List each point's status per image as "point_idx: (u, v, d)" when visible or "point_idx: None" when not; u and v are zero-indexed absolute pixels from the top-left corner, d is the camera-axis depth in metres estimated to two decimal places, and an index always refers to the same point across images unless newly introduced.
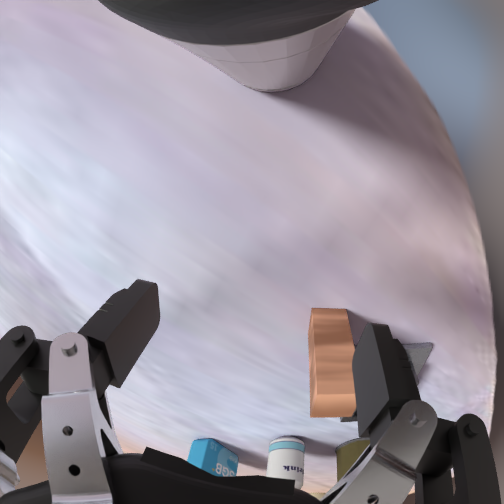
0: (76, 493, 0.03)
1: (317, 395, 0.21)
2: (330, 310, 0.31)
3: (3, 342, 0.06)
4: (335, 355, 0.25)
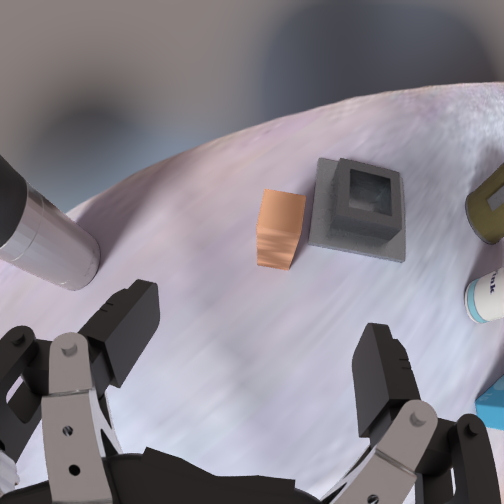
0: (76, 493, 0.03)
1: (258, 226, 0.26)
2: None
3: (3, 342, 0.06)
4: None
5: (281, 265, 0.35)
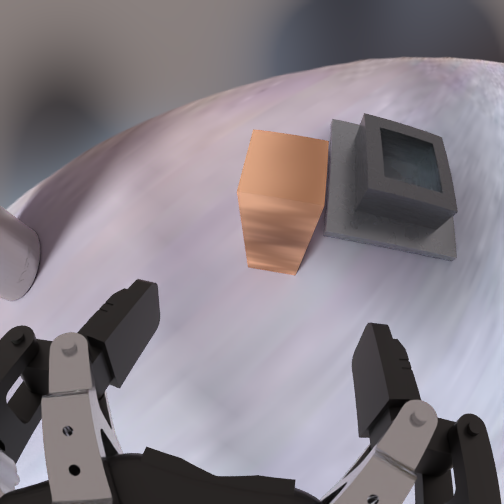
0: (76, 493, 0.03)
1: (241, 191, 0.13)
2: None
3: (3, 342, 0.06)
4: None
5: (284, 267, 0.22)
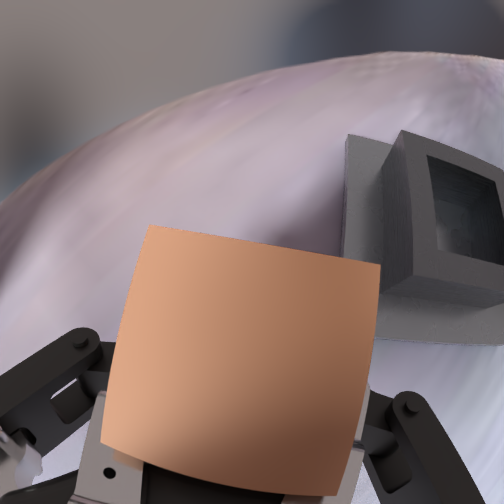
0: (102, 495, 0.03)
1: (111, 443, 0.04)
2: None
3: (63, 340, 0.07)
4: None
5: None
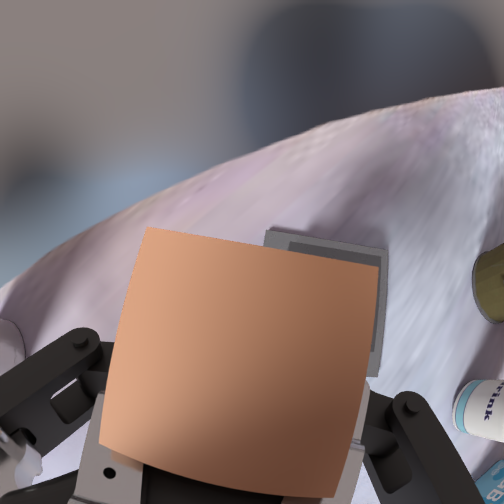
0: (102, 495, 0.03)
1: (109, 444, 0.04)
2: None
3: (63, 340, 0.07)
4: None
5: None
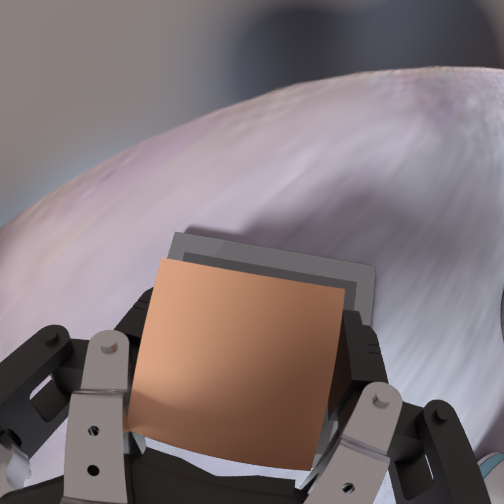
0: (90, 493, 0.03)
1: (135, 429, 0.05)
2: None
3: (35, 338, 0.06)
4: None
5: None
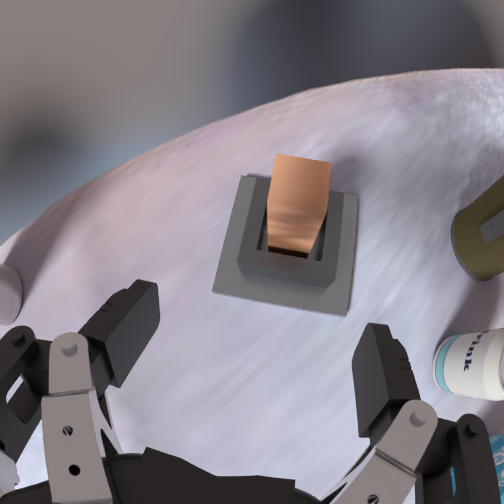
0: (76, 493, 0.03)
1: (270, 201, 0.19)
2: None
3: (3, 342, 0.06)
4: None
5: (297, 255, 0.28)
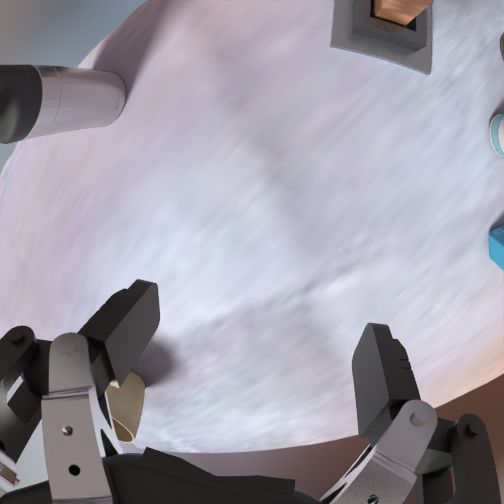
0: (76, 493, 0.03)
1: None
2: (371, 10, 0.24)
3: (3, 342, 0.06)
4: None
5: None
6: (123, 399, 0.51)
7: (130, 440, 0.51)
